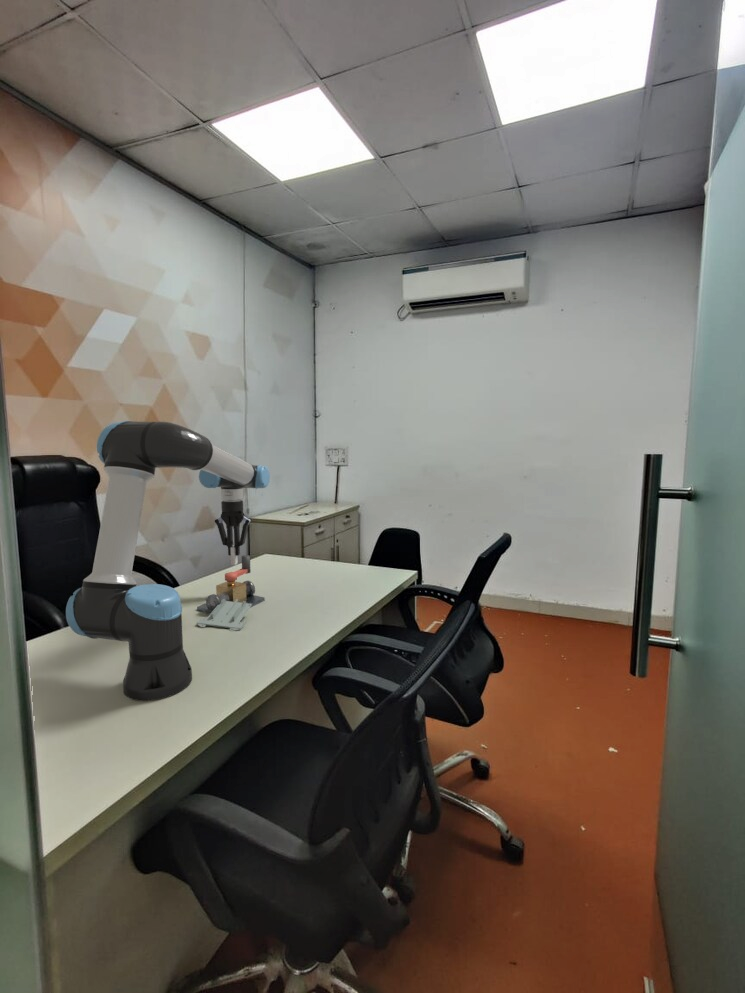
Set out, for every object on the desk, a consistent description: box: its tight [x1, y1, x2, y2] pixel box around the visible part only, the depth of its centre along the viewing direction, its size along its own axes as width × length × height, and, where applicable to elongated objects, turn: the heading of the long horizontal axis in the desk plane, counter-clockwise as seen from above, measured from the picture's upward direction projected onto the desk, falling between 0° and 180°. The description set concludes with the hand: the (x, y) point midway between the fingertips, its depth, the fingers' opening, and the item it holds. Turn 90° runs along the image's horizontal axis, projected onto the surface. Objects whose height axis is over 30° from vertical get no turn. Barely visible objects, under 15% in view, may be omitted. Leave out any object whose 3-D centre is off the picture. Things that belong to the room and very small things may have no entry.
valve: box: [196, 580, 266, 614], centre depth 167 cm, size 18×14×9 cm
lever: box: [224, 554, 251, 582], centre depth 170 cm, size 12×4×6 cm, turn 160°
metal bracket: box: [196, 599, 252, 632], centre depth 154 cm, size 14×6×15 cm
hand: (234, 564), depth 176 cm, fingers closed
